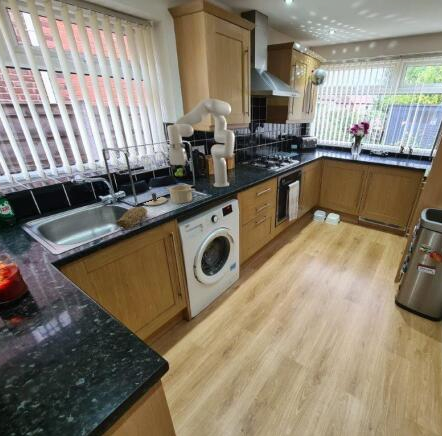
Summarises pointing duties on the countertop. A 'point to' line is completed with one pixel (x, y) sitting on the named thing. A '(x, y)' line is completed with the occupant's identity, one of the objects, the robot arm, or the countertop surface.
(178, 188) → the pot
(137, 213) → the brown hedgehog
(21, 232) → the countertop surface
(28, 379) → the countertop surface
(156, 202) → the lid
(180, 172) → the grapes
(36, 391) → the countertop surface
